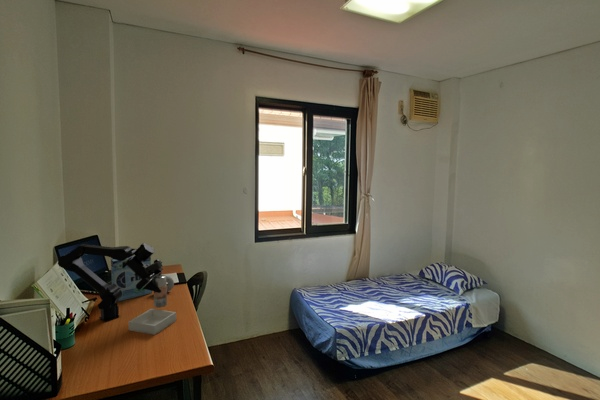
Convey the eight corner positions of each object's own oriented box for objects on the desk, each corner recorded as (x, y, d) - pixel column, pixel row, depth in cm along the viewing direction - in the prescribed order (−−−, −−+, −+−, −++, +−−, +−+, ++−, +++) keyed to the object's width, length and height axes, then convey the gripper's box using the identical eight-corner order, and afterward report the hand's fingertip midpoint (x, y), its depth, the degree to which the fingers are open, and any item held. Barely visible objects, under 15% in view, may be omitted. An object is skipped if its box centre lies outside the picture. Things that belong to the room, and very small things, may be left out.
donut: (155, 294, 179) (154, 277, 178) (155, 292, 182) (155, 275, 181) (174, 292, 183) (173, 275, 182) (174, 290, 186) (173, 273, 185)
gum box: (149, 291, 184) (148, 252, 182) (152, 293, 181) (151, 254, 179) (112, 300, 171) (110, 258, 169) (114, 302, 167) (112, 260, 165)
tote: (154, 334, 134) (154, 326, 134) (128, 330, 138) (128, 321, 138) (176, 320, 148) (176, 312, 147) (152, 316, 152) (151, 308, 151)
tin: (154, 308, 147) (153, 279, 146) (153, 303, 152) (152, 275, 151) (167, 306, 150) (167, 277, 149) (166, 301, 155) (165, 274, 154)
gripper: (142, 261, 139) (168, 285, 141) (158, 250, 158) (181, 272, 159) (124, 278, 140) (150, 302, 141) (143, 266, 158) (165, 287, 160)
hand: (163, 289), depth 150 cm, fingers closed on tin, 6 cm apart
